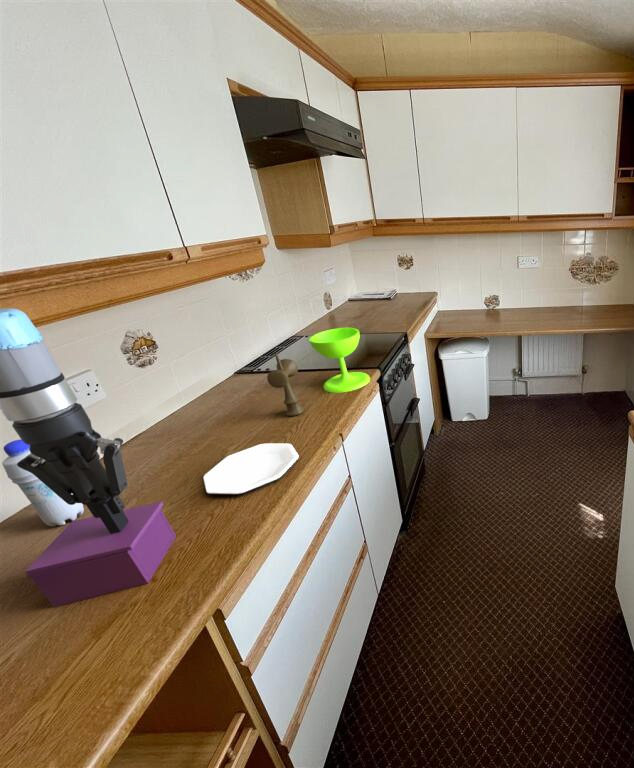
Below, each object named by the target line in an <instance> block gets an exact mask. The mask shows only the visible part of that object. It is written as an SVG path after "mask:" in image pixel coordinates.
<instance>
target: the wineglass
mask: <svg viewBox="0 0 634 768" xmlns="http://www.w3.org/2000/svg"><path fill="white" fill-rule="evenodd" d="M360 335H361V334H360V330H359V329H357V328H356V327H337V328H331V329H327V330H322V331H319V332H317V333H315V334H313V335H312V336H309V339H308V340H309V343H310V345H311V347H312V348H313V349H314V350H315V352H316V353H318V354H319V355H321V356H323V357H325V358H329V359H337V361H338V364H339V368H340V374H336V375H334V376H332V377H331V378H329V379H327V380H326V381H325V382H324V384H323V390H324V391H325V392H327V393H331V394H341V393H347V392H352V391H355V390H358V389H360V388H363V387H365V386H366V385H368V384H369V383H370V382H371V377H370V375H369V374H367V373H365V372H363V371H362V372H361V371H349V372H348V369H347V365H346V362H345V357H347V356H349V355H351V354H352V353H353V352H354V351H355V350H356V349H357V347H358V346H359V343H360V337H361V336H360Z"/></svg>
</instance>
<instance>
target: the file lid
mask: <svg viewBox="0 0 634 768" xmlns="http://www.w3.org/2000/svg"><path fill="white" fill-rule="evenodd" d="M163 506H164V502H163V501H158V502H153V503H148V504H145V505H140V506H135V507H130V508H126V509H123V510H122V511H123V512H124V514H125V515H126V517H127V519H128V520H129V522H128V523H127V524H126V525H125V527H124V528H123V529H122V531H121V532H117V533H112V534H110V532H109V531H108V529H107V528H106V526H105V525H104V523H103V522H102V520H101V519H100V518H95V517H94V516H89V517H85V518H80V519H76V520H74V521H71V522H70V523H69V524H68V525H67V526H66V527H65V528H64V529H63V530H62V531H61V532H60V534H58V535H57V536H56V538H54V540H52V542H51V543H50V544H49V545H47V547H46V548H45V549H44V550H43V551H42V553H41V554H39V556H38V557H36V559H35V560H34V561H33V562H32V563H31V564H30V566H28V567H27V568H26V569H25V571H24V572H25V574H26V575H28V574H32V573H36V572H41V571H45V570H49V569H53V568H57V567H61V566H65V565H70V564H74V563H78V562H82V561H86V560H90V559H95V558H99V557H103V556H107V555H111V554H115V553H119V552H124V551H128V550H132V549H133V548H134V546H135V545H136V543H137V542H138V541H139V539H140V538H141V536H142V535H143V533H144V532H145V531H146V529H147V528H148V526H149V525H150V523H151V522H152V520H153V519H154V518H155V516H156V515H157V513H158V512H159V510H160V509H161V510H162V508H163Z"/></svg>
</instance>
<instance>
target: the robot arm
mask: <svg viewBox="0 0 634 768" xmlns="http://www.w3.org/2000/svg"><path fill="white" fill-rule="evenodd" d="M77 401H78V398H77V395H76V394H75V392H74V391H73V389H72V387H71V385H70V384H69V382H68V380H67V378H66V377H65V375H64V374H63V372H62V370H61V369H60V367H59V365H58V363H57V362H56V360H55V358H54V356H53V355H52V353H51V351H50V350H49V348H48V346H47V344H46V343H45V340H44V339H43V335H42V333H41V332H40V331H39V330H38V329H37V327H36V326H35V325H34V323H33V322H32V321H31V319H30V318H29V316H28V315H27V313H25V312H24V311H22V310H20V309H17V308H0V411H1V413H2V414H3V415H4V417H5V418H6V420H7V421H9V422H12V425H11V426H12V428H13V429H14V431H15V432H16V434H17V435H18V437H19V438H20V440H21V439H22V441H23V442H24V443H25V444H27V445H30V448H29V450H30V452H31V453H30V454H29V455H27V456H26V457H25V458H23V459H22V460H21V461H19V462H18V463H17V466H18V467H20V468H22V469H24V470H26V471H28V472H30V473H32V474H33V475H35V476H36V477H37V478H38V479H39V480H40V481H42V482H43V483H44V484H45V485H46V486H47V487H49V488H50V489H51V490H52V491H53V492H54V493H56V494H57V495H58V496H59V497H60V498H61V499H63V500H64V501H65V502H66V503H67V504H69V505H74V504H75V503H82V504H83V506H86V507H87V509H88V510H89V512H90V513H91V515H92V517H95V518H100V519H101V520H102V522H103V523H104V525H105V526H106V528H107V529H108V531H109V532H110V534H112V533H117V532H121V531H122V529H123V528H124V527H125V525H126V524H127V523H128V522H129V520H128V519H127V517H126V515H125V514H124V512H123V511H122V510H125V503H124V502H123V501H122V499H121V497H120V495H121V493H122V492H123V491H124V490H125V489H126V488H127V487H128V484H129V483H128V479H127V474H126V470H125V465H124V461H123V454H122V452H121V449H122V447H123V444H124V440H123V438H120V437H116V438H114V439H110V438H106V437H105V438H104V437H102V436H101V434H100V432H97V431H96V430H95V429H93V427H92V422H91V419H90V416H88V414H87V412H86V410H85V409H84V406H83V405H82V404H80V403H78V402H77ZM98 449H99V450H100V451H99V453H100V454H102V459H103V464H102V462H101V460H100V457H101V456H100V454H99V453H98ZM72 494H73V495H72Z"/></svg>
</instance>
